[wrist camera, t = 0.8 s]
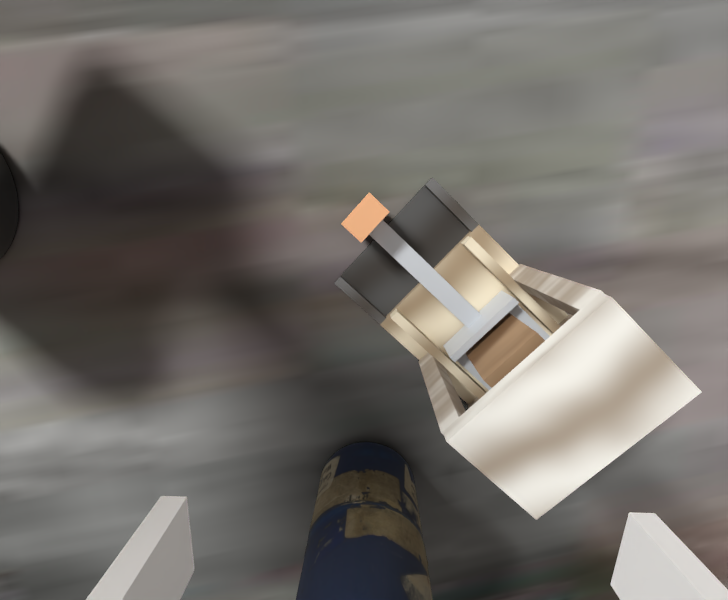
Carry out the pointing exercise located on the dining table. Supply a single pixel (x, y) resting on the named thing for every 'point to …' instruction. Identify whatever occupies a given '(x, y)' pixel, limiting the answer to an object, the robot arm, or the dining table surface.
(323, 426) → the dining table surface
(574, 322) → the cream wooden rail frame
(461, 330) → the orange and grey bar
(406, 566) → the canister
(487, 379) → the block
